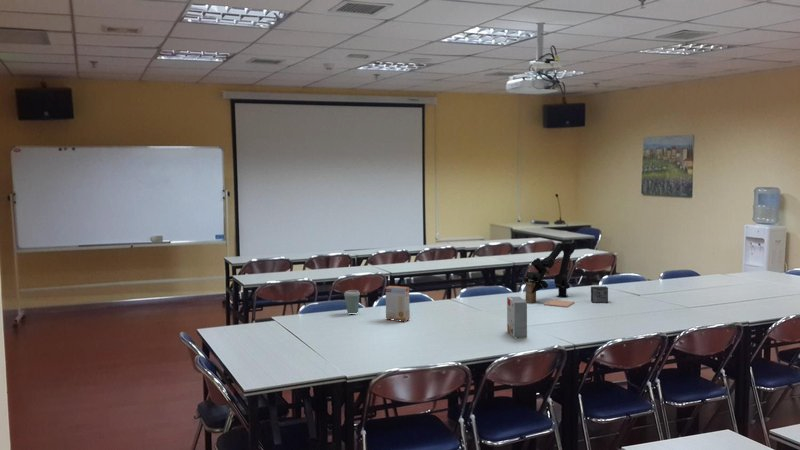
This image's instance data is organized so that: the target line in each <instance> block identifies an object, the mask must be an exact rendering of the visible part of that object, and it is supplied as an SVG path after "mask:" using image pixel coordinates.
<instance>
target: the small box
mask: <svg viewBox="0 0 800 450" xmlns="http://www.w3.org/2000/svg"><path fill="white" fill-rule="evenodd" d="M590 302H591V303H592V304H605V303H606V304H607V303H609V287H607V286H604V285H603V286H590Z"/></svg>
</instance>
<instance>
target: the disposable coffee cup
mask: <svg viewBox="0 0 800 450" xmlns="http://www.w3.org/2000/svg"><path fill="white" fill-rule="evenodd" d="M360 295H361V292H360V291H359V290H357V289H349V290H346V291H344V293H343V296H344V301H345V308H346V311H347V314H348V313H357V312H358V313H359V305H360V298H361V296H360Z"/></svg>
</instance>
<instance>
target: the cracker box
mask: <svg viewBox="0 0 800 450" xmlns="http://www.w3.org/2000/svg"><path fill="white" fill-rule="evenodd" d="M386 318H387V319H394V320H401V321H406V322H408V321H407V320H409V319H410V318H411V315H410V287H409V286H399V285H388V286H385V319H386ZM410 320H411V319H410ZM410 320H409V321H410ZM401 321H400V322H401Z"/></svg>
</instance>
